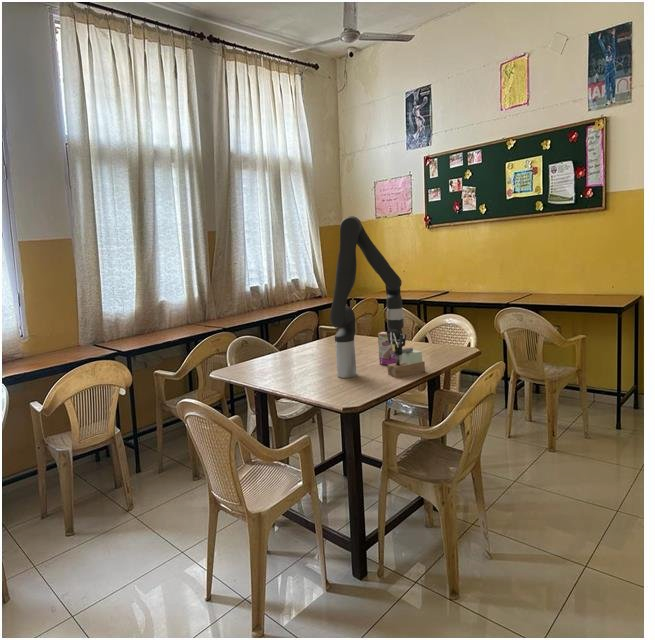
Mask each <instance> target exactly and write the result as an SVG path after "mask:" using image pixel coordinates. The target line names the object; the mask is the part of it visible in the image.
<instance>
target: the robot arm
mask: <svg viewBox="0 0 655 640" xmlns="http://www.w3.org/2000/svg"><path fill="white" fill-rule="evenodd" d="M357 246H358V247H359V249H360V250H361V252H362V253H363V256H364V257H365V259H366V261H367V263H368V264H369V265H370V267H371V268H372V270H373V271H374V272H375V273H376V274H377V275H378V276H379V277H380V279H381V280H382V282H383V283H384V285H385V286H384V287H385V292H386V293H385V295H386V323H387V329H389V330H387V331H386V332H387V337H388V342H389V344H391V345H392V344H396V343H397V354H398V355H402V349H403V347H405V346H406V342H407V341H406V340H407V334H406V333H403V328H404V327H405V324H404V323H405V320H404V311H403V298H402V295H401V293H402V292H401V286H402V283H403V282H402V279H401V277H400V276H399V275H398V273H397V272H396V271H395V270H394V269H393V268H392V267H391V265H390V263H389V262H388V260H387V259H386V257H385V256H384V255H383V254H382V253H381V251H380V250H379V249H378V248H377V246H376V245H375V244H374V242H373V241H372V240H371V238H370V237H369V235H368V234H367V232H366V230H365V228H364V225H363V224H362V222H361V220H360V219H359V218H358V217H356V216H354V215H352V216H350V215H349V216H347V217H345V218H344V219H342V221H341V222H340V224H339V251H338V256H337V261H336V262H337V263H336V269H335V282H334V290H333V297H332V303H331V308H330V313H329V320H330V324H331V325H332V326H333V327H334V328H335V329H338V331H337V332H336V333H335V335H334V344H335V359H336V361H335V362H336V370H337V371H336V374H337V377H338V378H342V379H347V378H349V379H350V378H354V377H356V376H357V373H358V372H357V362H356V361H357V360H356V359H357V358H356V346H355V335H356V315H355V311H354V310H353V308H352V307H350V306H348V305H347V301H348V297H349V295H350V293H351V292H352V289H353V288H354V286H355V285H354V284H355V282H356V277H357ZM390 340H391V341H390Z"/></svg>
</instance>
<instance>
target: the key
mask: <svg viewBox="0 0 655 640" xmlns="http://www.w3.org/2000/svg"><path fill="white" fill-rule="evenodd" d="M413 350H414V348H413V347H406V348H402V353H407V352H412V351H413ZM390 354H391V355H395V358H396V365H400V360H399V355H398V354H397V343H396V344H392V351H390Z"/></svg>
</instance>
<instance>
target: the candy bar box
mask: <svg viewBox="0 0 655 640" xmlns="http://www.w3.org/2000/svg"><path fill="white" fill-rule="evenodd" d="M377 339H378V356H379V365H381V366H382V365H383V366H388V364H393V363H396V358H395V355H391V354H390V351H392V345H391V344H389V342H388V337H387V331H380V332H378V333H377ZM390 341H391V340H390ZM399 360H400V362H403V360H402V355H399Z"/></svg>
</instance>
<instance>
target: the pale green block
mask: <svg viewBox="0 0 655 640" xmlns="http://www.w3.org/2000/svg"><path fill="white" fill-rule="evenodd" d="M422 354H423V351H420V350H418V349H413V351H412V352H407V353H402V360H403V362H404V363H407V364H415V363H420V362H422V361H423V355H422Z"/></svg>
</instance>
